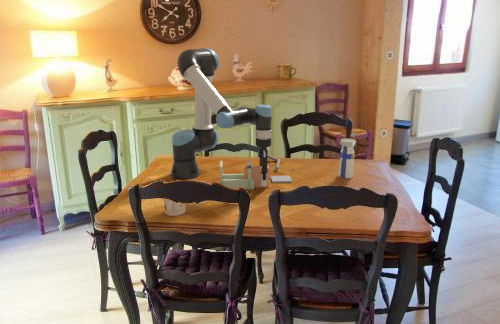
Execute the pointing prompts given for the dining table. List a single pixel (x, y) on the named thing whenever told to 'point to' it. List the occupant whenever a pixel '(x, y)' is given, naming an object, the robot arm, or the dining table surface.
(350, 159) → the water bottle
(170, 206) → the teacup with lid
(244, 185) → the dispenser
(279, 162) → the toilet paper hanger
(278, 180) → the tray
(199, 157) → the dining table surface
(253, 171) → the pink cube
